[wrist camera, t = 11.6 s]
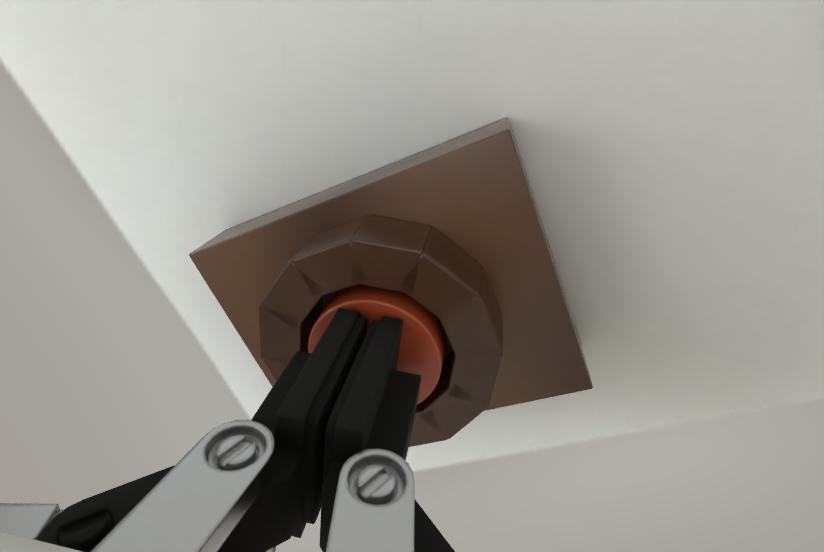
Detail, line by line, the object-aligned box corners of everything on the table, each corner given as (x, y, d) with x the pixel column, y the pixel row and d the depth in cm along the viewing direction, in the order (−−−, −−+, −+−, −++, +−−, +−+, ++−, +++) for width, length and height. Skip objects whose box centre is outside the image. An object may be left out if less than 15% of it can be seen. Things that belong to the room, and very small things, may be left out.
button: (419, 254, 13) (409, 283, 11) (465, 359, 14) (461, 399, 12) (307, 290, 14) (283, 322, 12) (359, 385, 15) (343, 424, 13)
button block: (507, 116, 13) (511, 142, 9) (581, 346, 16) (606, 433, 12) (225, 229, 16) (147, 281, 12) (329, 405, 19) (290, 488, 15)
